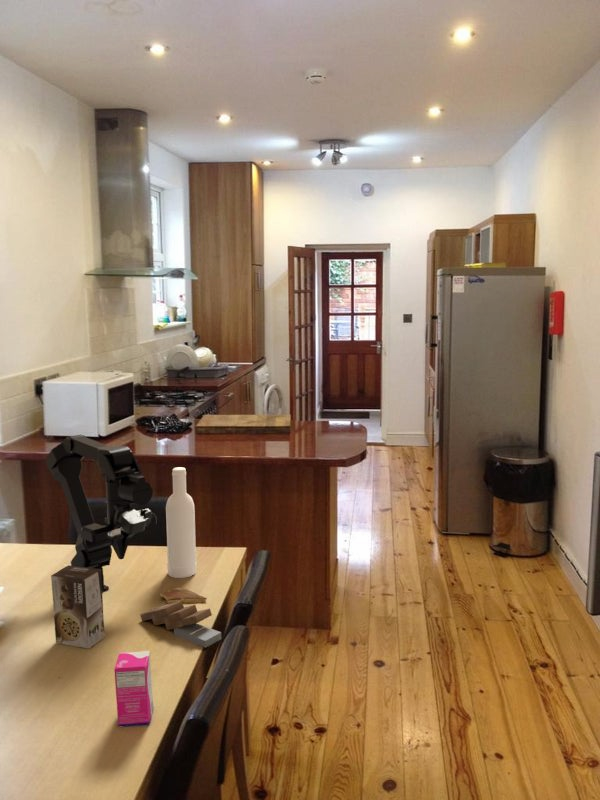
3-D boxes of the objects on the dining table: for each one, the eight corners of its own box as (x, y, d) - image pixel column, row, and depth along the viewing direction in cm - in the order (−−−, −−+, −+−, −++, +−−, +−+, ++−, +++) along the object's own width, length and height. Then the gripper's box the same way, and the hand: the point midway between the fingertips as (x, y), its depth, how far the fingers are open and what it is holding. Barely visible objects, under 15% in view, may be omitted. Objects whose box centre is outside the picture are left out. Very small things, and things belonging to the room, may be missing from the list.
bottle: (201, 573, 197) (199, 468, 193) (177, 580, 192) (173, 473, 188) (186, 565, 203) (183, 463, 199) (162, 572, 198) (159, 468, 194)
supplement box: (121, 709, 132) (119, 651, 130) (154, 707, 132) (151, 650, 131) (116, 727, 126) (113, 667, 124) (150, 725, 127) (147, 666, 125)
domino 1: (140, 614, 168) (165, 607, 162) (155, 607, 172) (181, 600, 166) (142, 621, 168) (168, 615, 162) (158, 613, 172) (183, 607, 166)
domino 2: (152, 618, 166) (179, 611, 160) (167, 611, 170) (195, 604, 164) (154, 625, 166) (182, 619, 160) (169, 618, 170) (197, 611, 164)
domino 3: (164, 623, 163) (195, 615, 158) (179, 615, 167) (209, 608, 162) (167, 630, 163) (198, 622, 158) (181, 622, 167) (212, 615, 162)
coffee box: (105, 636, 161) (102, 568, 158) (88, 649, 155) (85, 579, 152) (72, 630, 164) (68, 564, 161) (54, 643, 157) (50, 574, 155)
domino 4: (173, 628, 161) (205, 640, 155) (189, 620, 165) (221, 632, 159) (174, 635, 161) (205, 647, 155) (190, 627, 165) (221, 639, 159)
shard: (207, 603, 179) (207, 596, 179) (183, 613, 173) (182, 606, 173) (181, 591, 186) (180, 585, 186) (156, 601, 181) (156, 594, 180)
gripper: (104, 512, 161) (107, 578, 164) (169, 495, 175) (171, 556, 177) (77, 503, 169) (81, 566, 171) (142, 488, 183) (144, 546, 185)
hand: (121, 558), depth 176 cm, fingers closed
